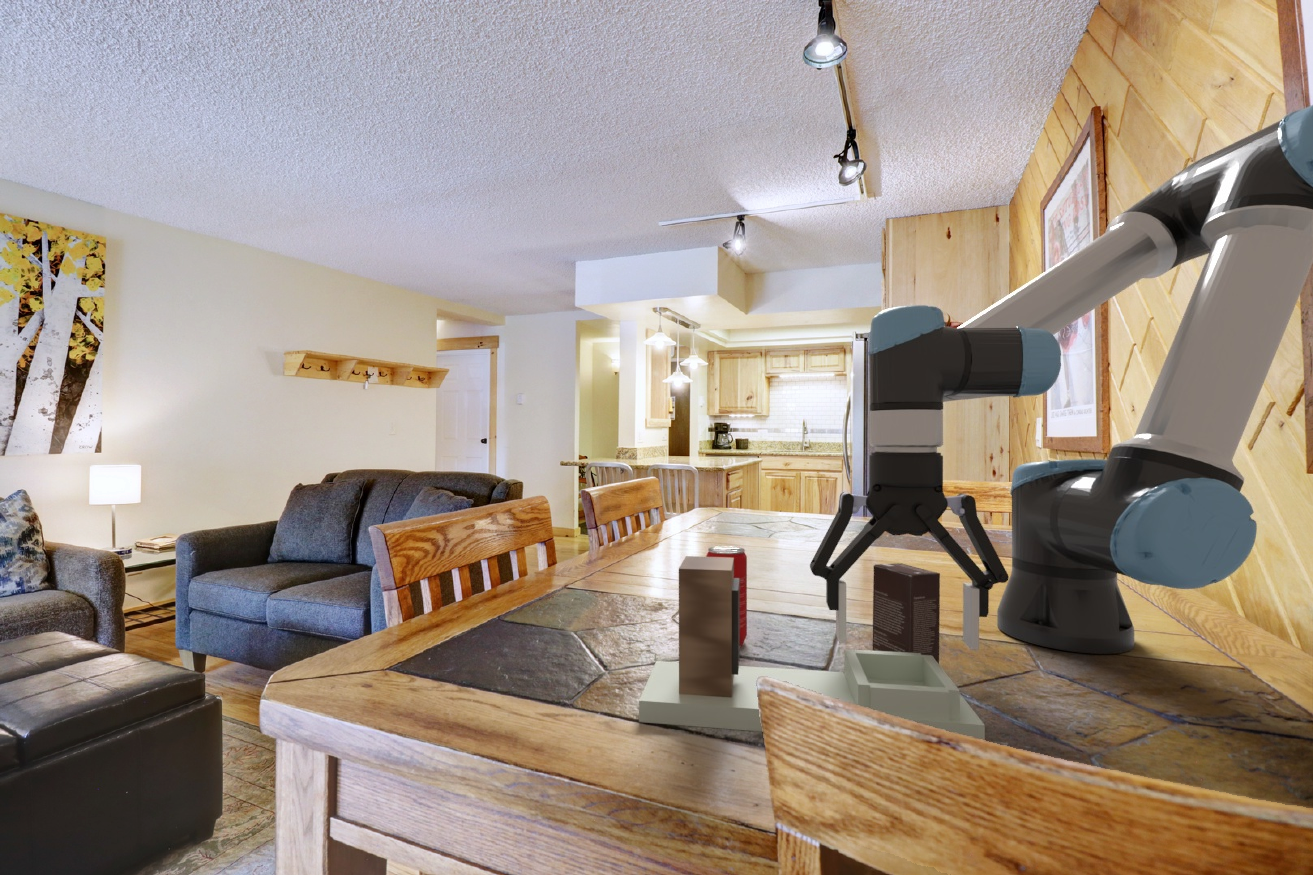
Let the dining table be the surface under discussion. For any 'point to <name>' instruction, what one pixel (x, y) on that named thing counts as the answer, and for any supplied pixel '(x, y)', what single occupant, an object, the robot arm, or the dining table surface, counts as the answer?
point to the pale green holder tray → (866, 681)
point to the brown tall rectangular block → (708, 626)
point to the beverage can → (739, 572)
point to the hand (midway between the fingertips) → (904, 642)
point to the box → (906, 609)
